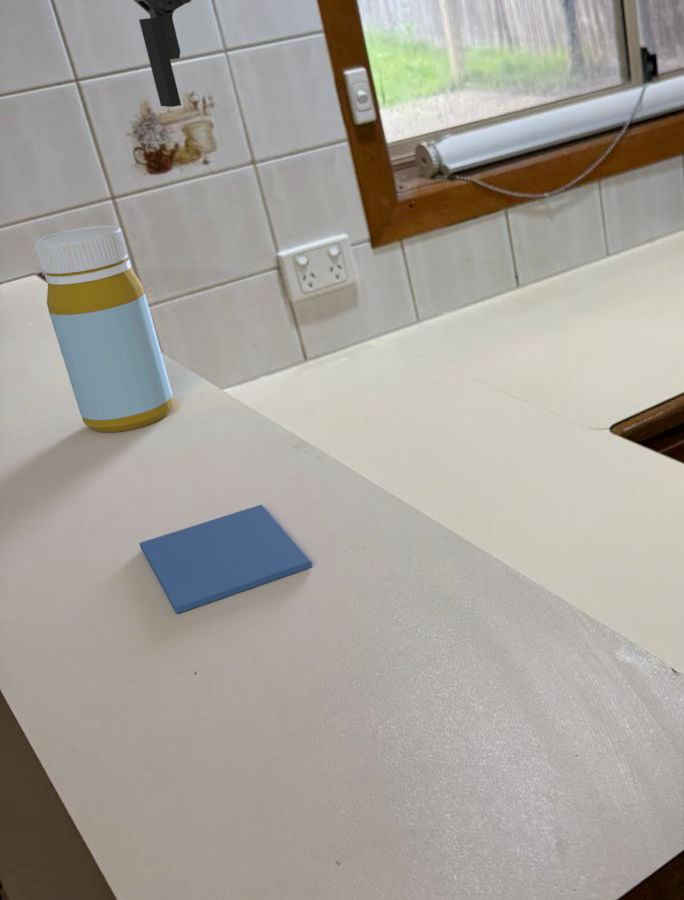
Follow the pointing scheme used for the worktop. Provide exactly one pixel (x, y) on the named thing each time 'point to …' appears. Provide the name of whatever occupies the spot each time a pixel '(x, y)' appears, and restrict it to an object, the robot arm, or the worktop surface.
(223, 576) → the blue mat
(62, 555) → the worktop surface
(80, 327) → the bottle
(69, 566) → the worktop surface
